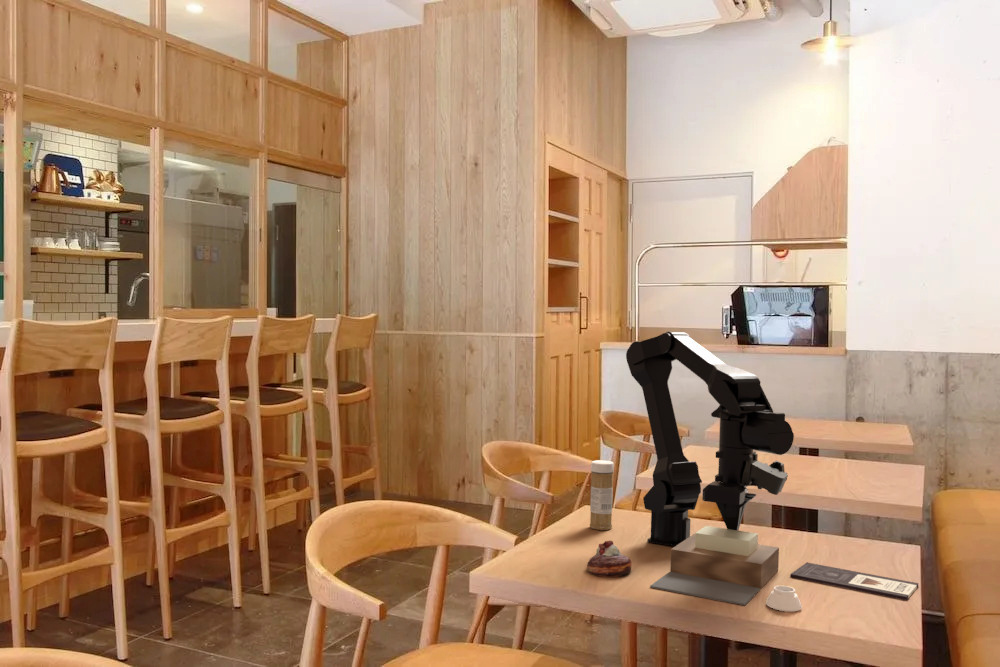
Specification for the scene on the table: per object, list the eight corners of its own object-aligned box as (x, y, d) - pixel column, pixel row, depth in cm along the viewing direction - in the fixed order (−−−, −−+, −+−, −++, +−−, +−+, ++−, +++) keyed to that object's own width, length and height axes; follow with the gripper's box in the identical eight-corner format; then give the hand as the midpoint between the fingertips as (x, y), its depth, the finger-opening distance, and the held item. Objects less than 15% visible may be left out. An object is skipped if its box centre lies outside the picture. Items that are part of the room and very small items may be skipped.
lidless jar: (766, 611, 130) (802, 615, 129) (767, 591, 130) (803, 595, 129) (765, 600, 135) (800, 604, 134) (766, 581, 135) (801, 585, 134)
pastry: (601, 562, 154) (602, 534, 153) (640, 571, 149) (641, 541, 149) (577, 573, 147) (578, 543, 147) (617, 582, 143) (618, 551, 143)
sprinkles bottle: (608, 525, 180) (610, 459, 179) (614, 530, 175) (616, 463, 175) (586, 525, 179) (588, 459, 179) (591, 530, 175) (593, 463, 174)
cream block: (694, 547, 149) (695, 532, 149) (705, 539, 154) (705, 525, 154) (748, 556, 145) (749, 541, 145) (757, 548, 150) (757, 533, 150)
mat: (650, 587, 140) (650, 585, 140) (669, 573, 148) (669, 571, 148) (745, 605, 132) (745, 603, 132) (760, 589, 140) (760, 588, 140)
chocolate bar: (806, 562, 155) (918, 583, 144) (806, 567, 155) (918, 588, 144) (790, 574, 147) (906, 597, 137) (790, 579, 147) (906, 603, 137)
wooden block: (670, 572, 148) (671, 549, 148) (692, 556, 158) (693, 534, 158) (760, 589, 140) (761, 564, 140) (778, 570, 151) (779, 547, 151)
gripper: (771, 458, 140) (768, 555, 141) (795, 443, 157) (792, 530, 157) (702, 451, 146) (700, 544, 146) (732, 438, 162) (730, 522, 162)
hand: (733, 535), depth 153 cm, fingers closed
